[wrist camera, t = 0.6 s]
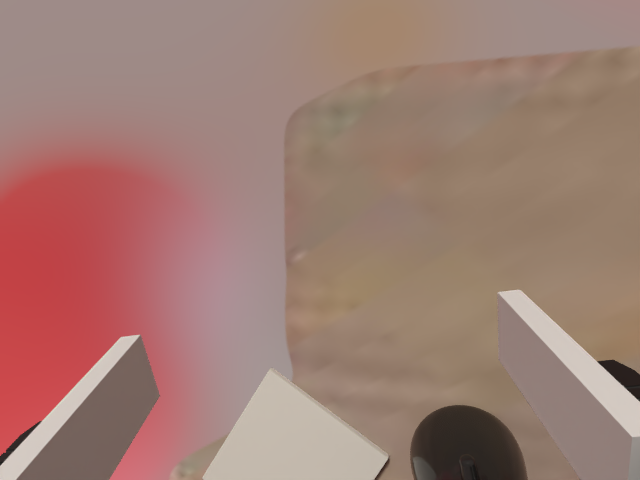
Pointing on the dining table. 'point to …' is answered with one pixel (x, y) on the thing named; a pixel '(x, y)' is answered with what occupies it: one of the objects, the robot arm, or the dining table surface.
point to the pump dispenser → (465, 447)
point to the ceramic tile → (293, 440)
